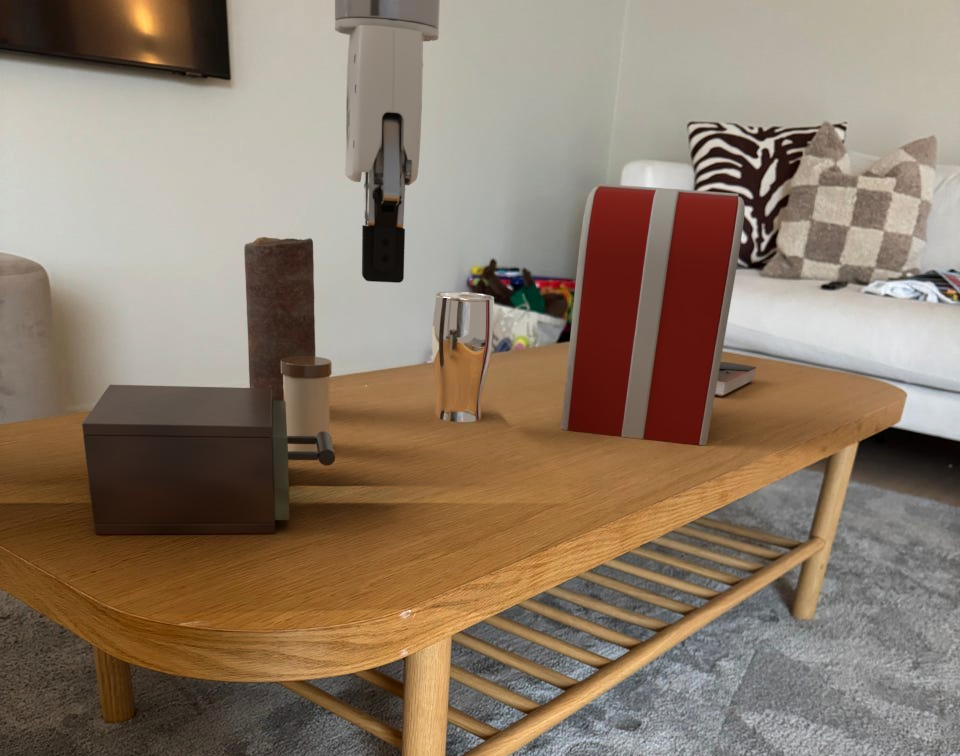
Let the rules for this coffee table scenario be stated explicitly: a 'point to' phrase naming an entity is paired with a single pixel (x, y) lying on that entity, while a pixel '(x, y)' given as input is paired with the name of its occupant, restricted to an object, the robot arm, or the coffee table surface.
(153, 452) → the cabinet
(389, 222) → the robot arm
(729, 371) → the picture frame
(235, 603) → the coffee table surface
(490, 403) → the coffee table surface
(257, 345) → the candle
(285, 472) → the drawer
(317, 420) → the spice jar
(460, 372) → the beer glass
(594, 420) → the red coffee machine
